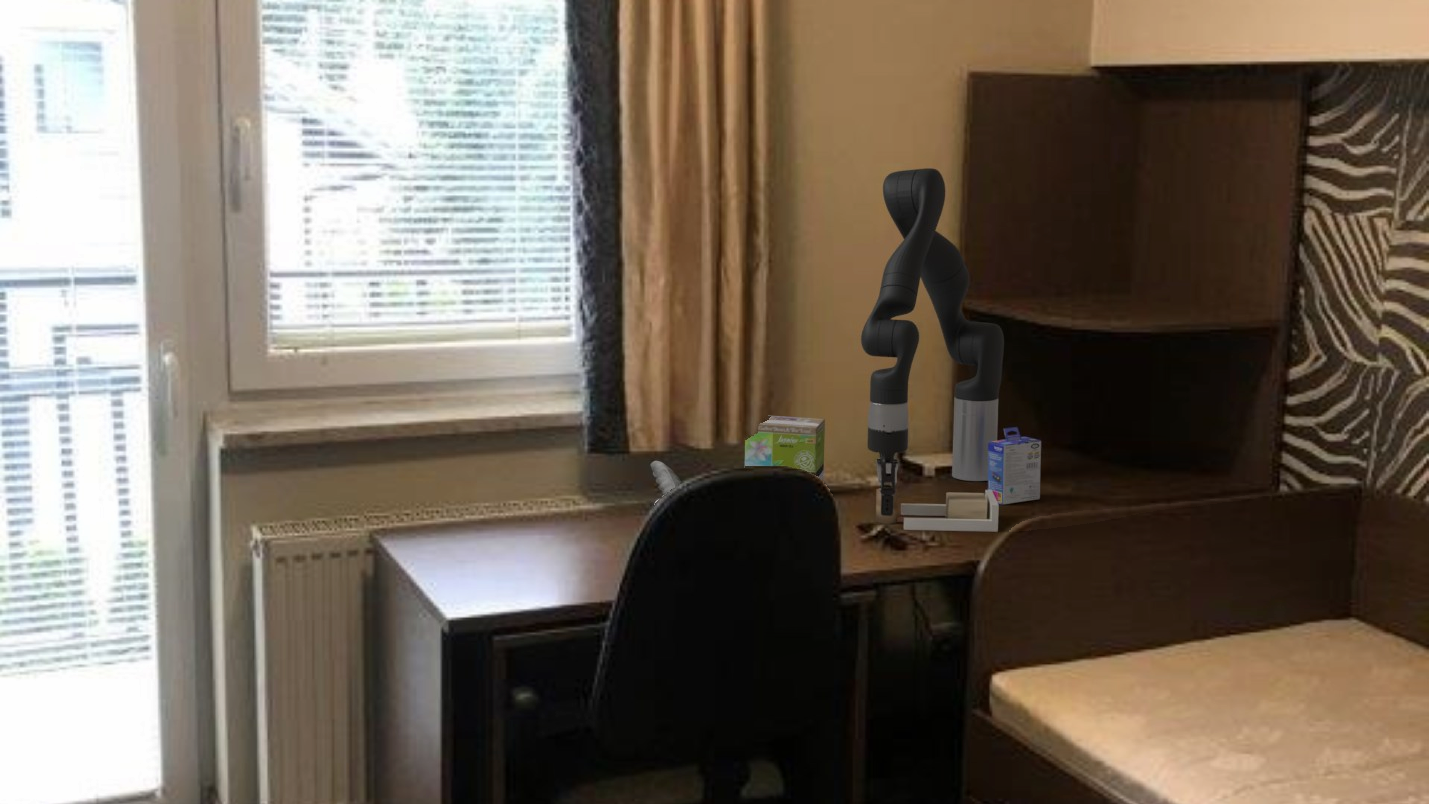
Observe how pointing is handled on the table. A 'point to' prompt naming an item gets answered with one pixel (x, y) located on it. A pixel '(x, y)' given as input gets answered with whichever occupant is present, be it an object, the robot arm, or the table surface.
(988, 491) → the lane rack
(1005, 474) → the ink cartridge box
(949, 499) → the beech mallet
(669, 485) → the grey ribbed curved piece
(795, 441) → the tea box
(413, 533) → the table surface
